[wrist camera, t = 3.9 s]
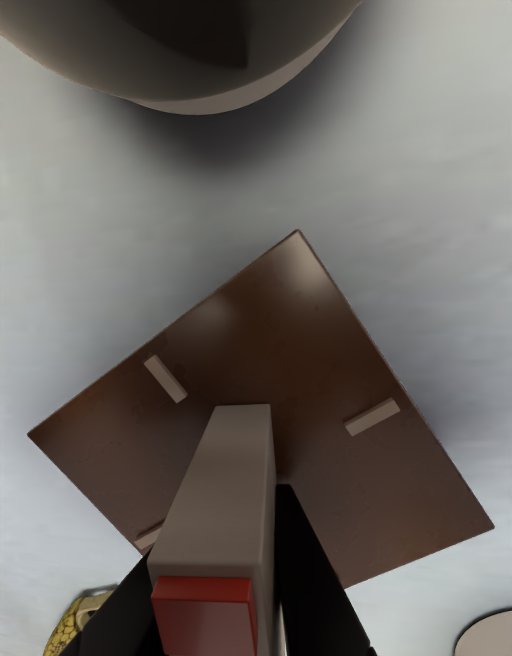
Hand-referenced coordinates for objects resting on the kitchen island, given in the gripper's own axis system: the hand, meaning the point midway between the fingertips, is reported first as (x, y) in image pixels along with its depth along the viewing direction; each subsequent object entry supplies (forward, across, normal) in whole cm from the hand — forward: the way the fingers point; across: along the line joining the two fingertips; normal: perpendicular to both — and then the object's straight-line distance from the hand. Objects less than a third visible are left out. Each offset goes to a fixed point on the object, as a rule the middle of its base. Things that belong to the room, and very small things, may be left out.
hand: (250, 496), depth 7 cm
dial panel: (+4, 0, 0) cm, 4 cm away
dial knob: (0, 0, 0) cm, 0 cm away
